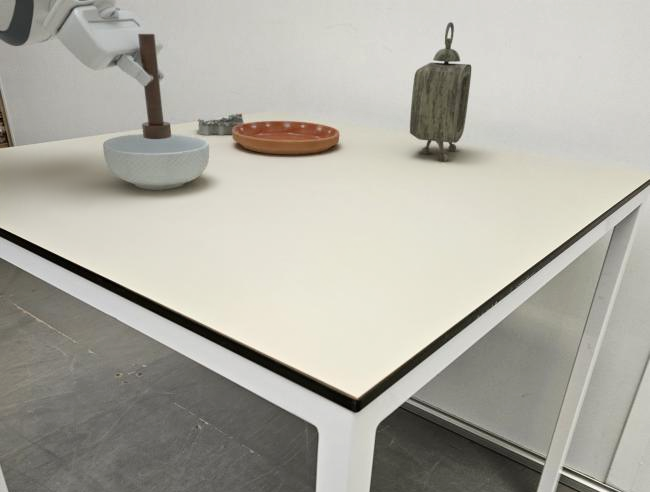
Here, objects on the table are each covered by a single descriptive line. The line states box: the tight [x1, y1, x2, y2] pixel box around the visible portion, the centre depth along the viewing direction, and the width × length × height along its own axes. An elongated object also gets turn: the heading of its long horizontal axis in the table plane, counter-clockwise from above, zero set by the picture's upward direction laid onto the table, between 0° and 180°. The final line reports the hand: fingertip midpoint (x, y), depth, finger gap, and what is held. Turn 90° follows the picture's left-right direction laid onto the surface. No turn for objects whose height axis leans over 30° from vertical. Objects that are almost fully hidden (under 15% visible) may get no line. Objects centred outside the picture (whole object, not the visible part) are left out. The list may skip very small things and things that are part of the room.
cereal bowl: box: [102, 133, 210, 191], centre depth 99 cm, size 17×17×7 cm
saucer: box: [231, 120, 340, 156], centre depth 130 cm, size 23×23×4 cm
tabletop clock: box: [409, 21, 472, 162], centre depth 120 cm, size 14×9×25 cm, turn 160°
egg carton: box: [197, 113, 245, 136], centre depth 141 cm, size 11×8×4 cm
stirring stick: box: [138, 33, 172, 139], centre depth 94 cm, size 4×4×15 cm
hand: (154, 81), depth 94 cm, fingers closed on stirring stick, 2 cm apart
